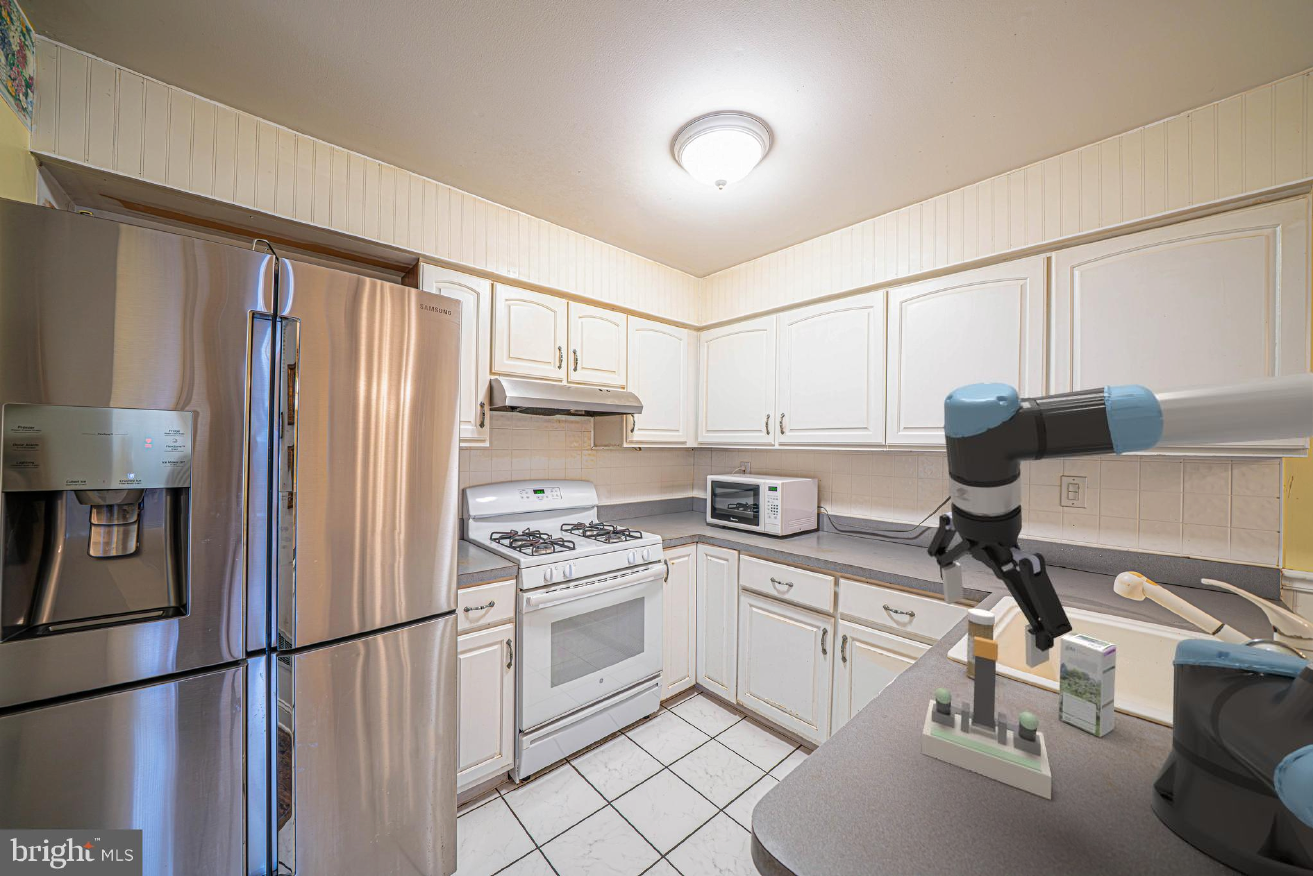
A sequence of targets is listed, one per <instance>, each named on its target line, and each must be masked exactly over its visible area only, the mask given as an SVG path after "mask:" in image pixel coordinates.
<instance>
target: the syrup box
mask: <svg viewBox="0 0 1313 876" xmlns="http://www.w3.org/2000/svg"><path fill="white" fill-rule="evenodd" d="M1059 651H1060V652H1059V653H1060V654H1059V655H1060V656H1059V657H1060V660H1059V686H1058V687H1059V690H1058V691H1059V692H1058V720H1060V721H1062V722H1064V723H1066V724H1069V725H1070V726H1072V727H1074V728H1077V729H1080V730H1082V731H1083V732H1084V731H1085V732H1086V733H1088V734H1091V735H1093V736H1096V737H1098V738H1102V737H1103V736H1105V735H1107V734H1109V733H1110V732H1112V731H1113V730H1114V729H1115V692H1116V691H1115V690H1116V689H1115V684H1116V683H1115V682H1116V664H1117V663H1116V661H1117V645H1116V644H1115V643H1113V642H1109V641H1106V640H1102V639H1100V638H1099V639H1098V638H1095V637H1091V636H1088V635H1084V634H1082V633H1077V632H1071V633H1066V634H1064V635H1062V636H1060V650H1059Z"/></svg>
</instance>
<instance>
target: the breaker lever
mask: <svg viewBox="0 0 1313 876" xmlns="http://www.w3.org/2000/svg"><path fill="white" fill-rule="evenodd" d="M974 655H975V678H974V681H973V682H974V683H973V684H974V685H973V709H972V710H973V711H972V712H973V714H972V721H971V725H972V726H975V727H978V728H981V729H984V730H988V731H991V732H994V733H995V732H996V721H994V718H995V712H996V711H995V708H996V707H995V704H996V703H995V702H996V671H997V670H996V668H997V662H998V659H999V658H998V657H999V641H997V640H994V639H993V640H989V639H984V638H980V637H975V636H974Z"/></svg>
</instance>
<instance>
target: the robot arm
mask: <svg viewBox="0 0 1313 876" xmlns="http://www.w3.org/2000/svg"><path fill="white" fill-rule="evenodd" d="M943 405H944V406H943V409H944V411H943V412H944V413H943V414H944V422H943V423H944V424H943V430H944V439H945V440H944V441H945V449H946V450H945V451H946V460H947V468H948V469H947V470H948V477H949V478H948V479H949V491H950V492H949V494H950V500H951V504H950V509H951V510H950V511H949V512H946V513H944V514H941V515H939V517H938V521H939V522H938V528H937V530H936V532H935V534H934V536H933V538H932V540H931V542H930V544H929V546H928V548H927V554H928V556H929V557H931V558H933V557H934V558H935V559H936V563H937V565H939V571H940V579H941V580H942V584H943V585H942V587H943V596H944V603H946V604H947V605H951V604H954V603H956V602H958V601H961V600H962V599H964V589H963V588H964V587H963V586H964V585H963V576H962V575H963V574H962V564H961V563H959V562H957V561H958V560H960V559H961V558H962V557H964V556H965V555H967V554H968V553H969V554H970V555H971V557H972V558H973V559H974V560H976V561H978V562H981V563H983V565H985V566H986V567H987V568H988V569H991V571H992V572H993V574H994V575H995V577H996V578H997V579H998V580H1000V581H1002V582H1003V583H1004V584H1005V586H1006V588H1007V589H1008V591H1009V593H1010V595H1011V596H1012V598H1013V600H1014V601H1015V602H1016V604H1017V606H1018V607H1019V609H1020V610H1021V612H1022V614H1023V616H1024V617H1025V618H1026V620H1027V621H1028V624H1025V625H1024V634H1025V635H1024V636H1025V637H1024V638H1025V664H1026V665H1027V666H1028V667H1029V668H1031V669H1033V668H1035V667H1037V666H1039V665H1042V664H1044V663H1046V662H1048V661H1050V650H1051V649H1052V648H1054V647H1055V639H1057V638H1059V637H1062V636H1065V635H1067V634H1069V632H1072V631H1073V627H1072V623H1070V620H1069V618H1068V615H1067V614H1066V612H1065V611H1066V610H1065V609H1064V606H1063V604H1062V603H1061V601H1060V598H1059V596H1058V594H1057V592H1056V590H1055V588H1054V585H1053V583H1052V580H1051V579H1050V577H1049V574H1048V572H1047V568H1046V567H1047V566H1046V561H1045V557H1044V556H1043V554H1041V553H1040V552H1035V553H1033V554H1030V553H1028V552H1027V553H1026V552H1024V551H1023V550H1022V549H1021V547H1020V546H1019V542H1018V540H1019V539H1018V538H1019V535H1020V534H1021V532H1022V529H1023V518H1022V517H1023V515H1022V511H1023V510H1022V505H1021V503H1022V486H1021V482H1022V481H1021V474H1022V473H1021V463H1022V462H1027V461H1028V462H1029V461H1030V462H1031V461H1041V460H1051V459H1065V458H1080V457H1081V458H1082V457H1091V456H1105V455H1114V454H1115V455H1116V456H1118V455H1119V456H1120V455H1123V454H1125V453H1133V452H1135V453H1136V452H1143V451H1147V450H1151V449H1152V448H1153V449H1154V448H1155V449H1156V448H1166V447H1184V446H1199V445H1213V444H1225V443H1226V444H1228V443H1229V444H1230V443H1243V442H1247V443H1248V442H1258V441H1260V442H1261V441H1273V440H1274V441H1275V440H1291V439H1304V438H1309V439H1310V438H1313V372H1306V373H1305V372H1304V373H1294V374H1288V375H1287V374H1286V375H1276V376H1268V377H1258V378H1257V377H1256V378H1249V379H1241V380H1240V379H1239V380H1238V379H1237V380H1228V381H1222V382H1221V381H1220V382H1211V383H1201V384H1193V385H1192V384H1191V385H1185V386H1184V385H1183V386H1172V387H1165V388H1155V389H1149V388H1148V387H1146V386H1143V385H1139V384H1128V385H1127V384H1126V385H1116V386H1115V385H1114V386H1110V385H1107V386H1105V385H1104V386H1103V387H1098V388H1090V389H1084V390H1083V389H1082V390H1076V391H1070V392H1069V391H1068V392H1063V393H1057V394H1056V393H1055V394H1048V395H1043V396H1034V397H1019V393H1018V390H1017V389H1016V388H1015V387H1013V386H1012V385H1009V384H1005V383H1002V382H1001V383H999V382H990V383H984V382H979V383H977V382H976V383H973V384H967V385H964V386H961V387H958V388H956V389H954V390H953V391H951V392H949V393H948V395H946V397H945V400H944V402H943ZM957 533H958V535H959V537H960V538H961V541H960V542H958V543H957V544H956V545H954V546H953V548H950V550H948V548H949V546H950V544H951V543H952V541H953V539H954V537H955V536H956V534H957ZM1010 564H1011V565H1012V567H1010V568H1008V569H1006V570H1003V568H1004V567H1006V566H1009V565H1010ZM1172 666H1173V692H1172V693H1173V696H1172V697H1173V699H1172V704H1173V706H1172V708H1173V709H1172V711H1173V712H1172V744H1171V745H1172V747H1171V751H1170V752H1169V754H1168V755H1167V756H1168V757H1167V758H1166V760H1165V761H1164V762H1163V765H1162V766H1161V768H1160V770H1159V771H1158V772H1157V774H1156V776H1155V778H1154V779H1153V782H1152V784H1151V791H1150V793H1151V794H1150V804H1151V807H1152V810H1153V811H1154V814H1156V816H1157V817H1158V818H1159V819H1160V820H1161V821H1162V823H1164V825H1166V826H1167V827H1168V828H1169V829H1170V830H1171V831H1173V832H1174V833H1175V834H1177V835H1178V836H1179V837H1181V838H1182V839H1183V840H1185V841H1187V842H1188V843H1189V844H1191V846H1194V847H1195V848H1196V849H1197V850H1198V849H1199V850H1200V851H1201V852H1203V853H1205V854H1207V855H1209V856H1210V857H1212V858H1214V859H1215V860H1217V861H1219V862H1221V863H1223V864H1224V865H1227V866H1229V867H1231V868H1233V869H1235V870H1237V871H1239V872H1241V873H1244V874H1245V875H1248V876H1313V661H1311V660H1309V659H1305V658H1302V657H1298V656H1294V655H1291V654H1287V653H1282V652H1278V651H1274V650H1270V649H1265V648H1264V649H1263V648H1259V647H1254V646H1248V645H1243V644H1238V643H1233V642H1226V641H1220V640H1212V639H1202V638H1185V639H1182V640H1180V641H1179V642H1178V643H1177V644H1176V647H1175V654H1174V659H1173V660H1172Z"/></svg>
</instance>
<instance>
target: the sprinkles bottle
mask: <svg viewBox="0 0 1313 876" xmlns="http://www.w3.org/2000/svg"><path fill="white" fill-rule="evenodd" d="M995 615H996V614H994V613H993V612H991V611H990V610H989V611H988V610H985V609H979V608H969V609H968V610H967V615H966V616H967V622H968V623H967V624H968V625H967V626H968V627H967V648H966V651H967V652H966V659H967V661H966V662H967V663H966V665H967V666H966V671H965V672H966V673H965V675H966V676H967V677H969V678H970V679H972V680H973V679H974V678H975V655H974V636H975V637H980V638H984V639H989V640H993V641H994V626H995V624H996V616H995Z"/></svg>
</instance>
